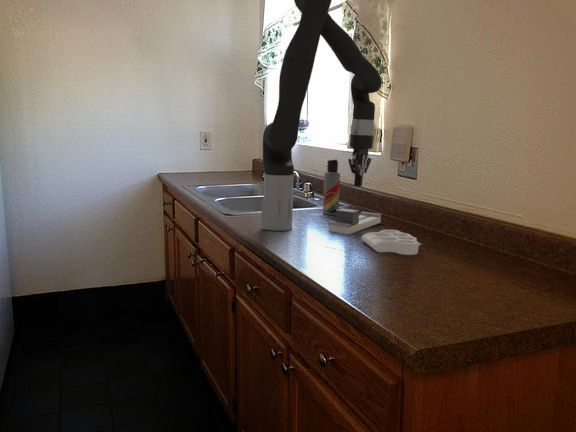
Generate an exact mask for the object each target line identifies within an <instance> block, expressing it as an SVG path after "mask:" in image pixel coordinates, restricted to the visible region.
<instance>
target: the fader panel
mask: <svg viewBox="0 0 576 432" xmlns="http://www.w3.org/2000/svg"><path fill="white" fill-rule="evenodd" d="M381 219H382V214H381V213H378V212H377V213H376V212H368V211H361V212H360V214H359V223H357V224H354V225H351V224H347V223H340V222H335V221H332V220H330V221H328V232H331V233H332V232H333V233H338V234H345V235H351V234H353V233H356V232H358V231H361V230H363V229H366V228H369V227H372V226H375V225H378V224H380V223H381Z"/></svg>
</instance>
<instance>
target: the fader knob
mask: <svg viewBox="0 0 576 432" xmlns="http://www.w3.org/2000/svg"><path fill="white" fill-rule="evenodd" d="M359 215H360V209H359V210H358V209H350V208H342V207H341V208H339V209H338V210H336V215H335V217H334V218H335V219H334V222H340V223H347V224H351V225H354V224H357V223H359Z"/></svg>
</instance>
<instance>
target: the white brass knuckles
mask: <svg viewBox="0 0 576 432" xmlns="http://www.w3.org/2000/svg"><path fill="white" fill-rule="evenodd" d="M361 241H363V243H365V244H366V245H367V246H369V247H371V248H372V249H373V251H376V252H377V253H396V254H398V255H407V256H414V255H417V254H419V246H421V245H423V244H422V243H420V242H419V241H418V239H417V237H415V236H412V234H409V233H407V232H402V231H400V230H397V229H382V230H380V231H377V232H376V231H375V232H374V231H372V232H366V233H365V234H363V235H361Z"/></svg>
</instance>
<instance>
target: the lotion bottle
mask: <svg viewBox="0 0 576 432" xmlns="http://www.w3.org/2000/svg"><path fill="white" fill-rule="evenodd" d="M340 185H341V173H340V172H339V160H338V159H330V160H327V170H326V171H324V181H323V205H322V213H323V214H324V215H329V216H332V215H333V216H334V215H336V210H338V209H340V207H339V206H340V190H341V189H340Z"/></svg>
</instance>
